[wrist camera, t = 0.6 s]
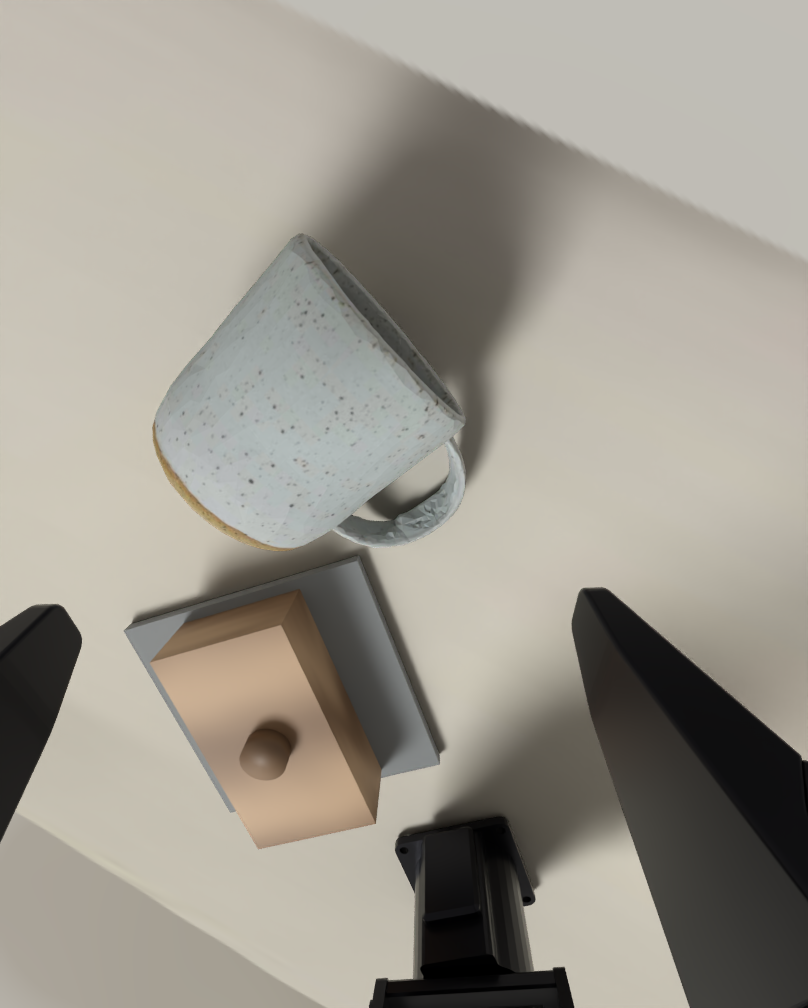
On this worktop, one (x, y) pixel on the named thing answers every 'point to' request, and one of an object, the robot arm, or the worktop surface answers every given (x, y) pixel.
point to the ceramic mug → (307, 413)
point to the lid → (273, 720)
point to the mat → (352, 647)
